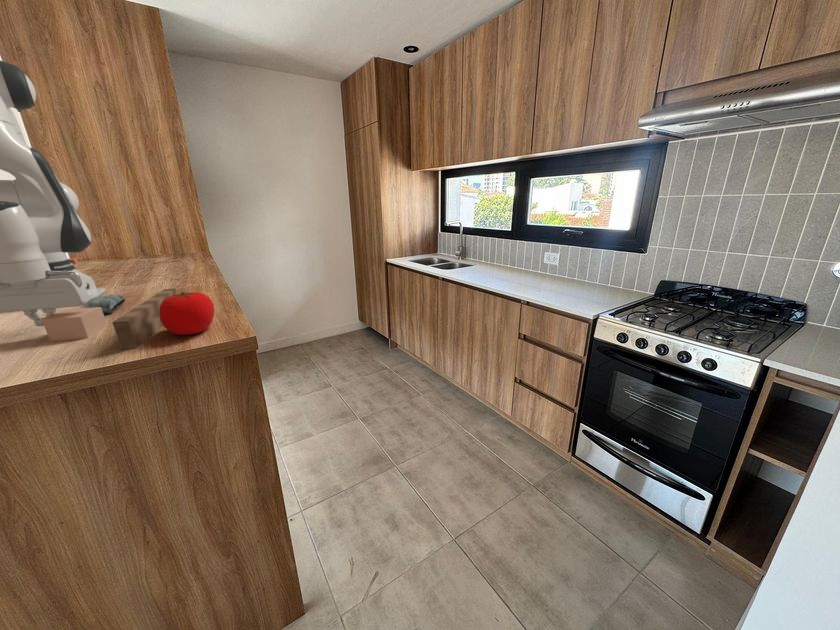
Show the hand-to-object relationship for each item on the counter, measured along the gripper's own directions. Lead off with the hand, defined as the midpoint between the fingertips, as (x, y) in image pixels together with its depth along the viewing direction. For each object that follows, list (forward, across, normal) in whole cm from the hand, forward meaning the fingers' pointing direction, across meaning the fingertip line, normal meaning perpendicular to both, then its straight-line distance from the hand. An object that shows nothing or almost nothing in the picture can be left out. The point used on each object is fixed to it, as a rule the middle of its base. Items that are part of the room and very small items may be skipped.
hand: (46, 325), depth 84 cm
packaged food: (+4, -2, -20) cm, 21 cm away
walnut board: (+3, -23, 0) cm, 23 cm away
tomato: (+4, -34, +7) cm, 35 cm away
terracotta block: (+3, -6, 0) cm, 7 cm away
